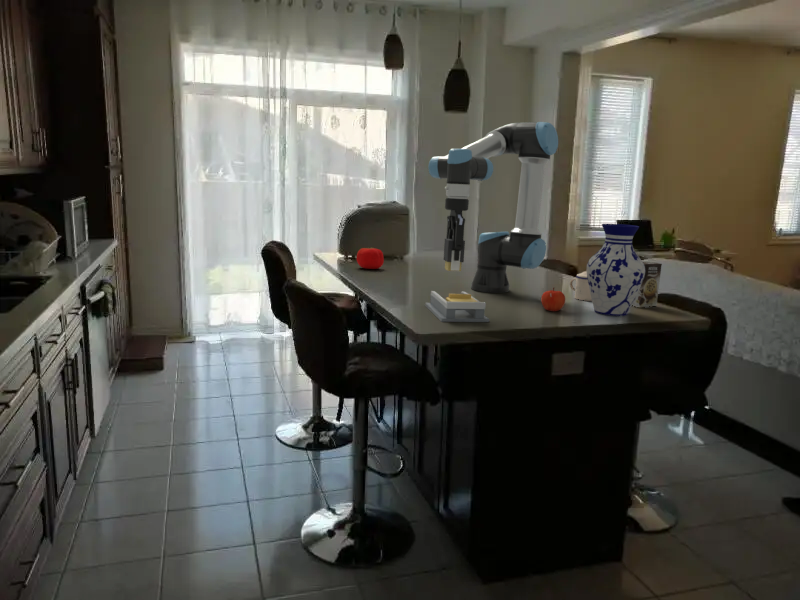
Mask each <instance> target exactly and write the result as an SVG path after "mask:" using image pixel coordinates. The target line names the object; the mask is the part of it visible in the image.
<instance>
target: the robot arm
mask: <svg viewBox="0 0 800 600" xmlns="http://www.w3.org/2000/svg"><path fill="white" fill-rule="evenodd" d="M558 148H559V137H558V132H557V130H556V127H555V125H554V124H552V123H551V122H545V121H532V122H531V121H530V122H529V121H527V122H525V121H524V122H512V123H508V124H505V125H502V126H500V127H498V128H495V129H493V130H491V131H489V132H487V133H486V135H485V136H484V137H482V138H480V139H477V140H476V141H475V142H472V143H469V144H467V145H465V146H464V147H462V148H450V150H448V154H446V155H439V156H432V157H431V158H430V160H429V162H428V168H427V169H428V172H429V173H428V174H429V175H430V176H431V177H432V178H434V179H440V180H443V179H445V180H446V186H444V190H445V196H446V198H445V202H444V203H445V204H444V205H445V206H444V210H447V211H450V213H449V215H447V217H446V219H447V220H446V221H447V223H446V224H447V225H446V238H445V239H452V237H453V248H451V250H452V257H451V271H450V272H460V271H459V268H460V253H461V249H463V240H464V238H465V237H464V235H465V223H466V219H465V218H466V217H465V218H464V216H463V212H466V211H468V210H469V204H470V203H469V201H470V200H469V199H468V198H469V197H470V190H471V181H479V182H480V181H481V182H482V181H487V180H489V179H490V178H491V177H492V175H493V173H494V164H493V162H492V161H491V160H490V159H491V157H500V156H502V155H518V156H517V158H518V160H519V162H521V169H520V177H519V188H518V196H517V205H516V212H515V213H516V215H515V223H514V224H515V225H514V228H512V229H511V230H510V232H509V231H495V232H491V231H490V232H482V233H480V234H479V238H478V243H477V259H476V262H477V263H476V271H475V273H474V276H473V279H472V280H471V285H470V289H471V290H474V291H476V292H477V291H478V292H483V293H494V294H495V293H496V294H497V293H499V294H503V293H509V292H510V281H509V277H508V274H507V267H513V268H514V267H515V268H521V269H530V270H535V269H537V268H538V267H539V266H540V265H541V263H542V262H543V261H544V259H545V256H546V254H547V253H546V252H547V245H546V241H545V240H544V239H543V238H542V233H541V232H540V230H539V223H540V213H541V204H542V195H543V186H544V178H545V169H546V165H547V164H548V163H549V161H551V156H552V155H554V154H556V152H557V150H558Z"/></svg>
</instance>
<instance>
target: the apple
mask: <svg viewBox="0 0 800 600" xmlns="http://www.w3.org/2000/svg"><path fill="white" fill-rule="evenodd" d="M540 300H541V304H542V307H543V308H544V309H545V310H546V311H548V312H549V311H550V312H558V311H560V310H561V309H562V308H563V307H564V306H565V304H566V296H565V294H564V293H563V292H562V291H560V290H555V287H553V288H552V289H551V290H546V291H544V292H543V294H542V295H541V298H540Z"/></svg>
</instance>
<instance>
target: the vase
mask: <svg viewBox="0 0 800 600" xmlns="http://www.w3.org/2000/svg"><path fill="white" fill-rule="evenodd" d="M601 226H602V228H603V231H604V237H605V240H604V243H603V245H602V246H601V248H600V249H599V250H598V251H596V253H594V255H592V256H591V257H590V258H589V260H588V262H587V264H586V270H587V278H588V284H589V289H590V293H591V298H592V301H591V303H592V307H593V310H594V313H597V314H599V315H605V316H613V317H624V316H628V314H629V312H630V310H631V307H633V306H632V304H633V301H634V299H635V297H636V295H637V293H638V291H639V289H640V286H641V284H642V281H643V279H644V276H645V266H644V263H643V262H644V261H643V260H642V259H641V258H640V257H639V255H638V254H637V252H636V251H635V249H634V246H633V238H634V236H635V234H636V232H638V230H639V228H640V226H638V225H632V224H623V223H622V224H621V223H620V224H619V223H601Z"/></svg>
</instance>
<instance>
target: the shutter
mask: <svg viewBox="0 0 800 600" xmlns="http://www.w3.org/2000/svg"><path fill="white" fill-rule="evenodd" d="M471 296H472V294H471V293H468V294H461V293H448V296H447V297H445V300H446V301H447V302H478V301H479V300H478V301H476V300H475V299H476V298H475V297H474V298H475V299H474V298H471Z"/></svg>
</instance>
